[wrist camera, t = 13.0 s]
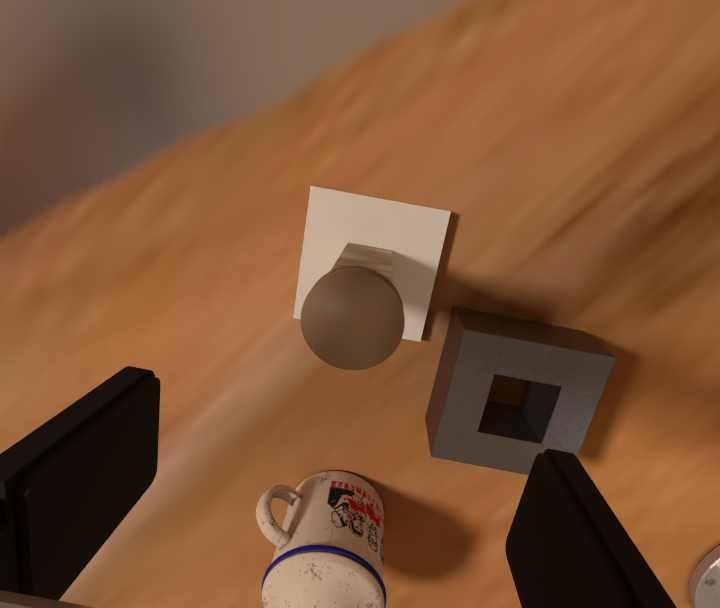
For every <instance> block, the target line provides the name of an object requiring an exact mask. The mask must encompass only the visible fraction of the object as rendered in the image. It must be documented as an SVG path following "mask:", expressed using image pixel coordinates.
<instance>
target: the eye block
mask: <svg viewBox="0 0 720 608" xmlns="http://www.w3.org/2000/svg"><path fill="white" fill-rule="evenodd" d="M615 360H616V357H615V356H613V355H612V354H611V353H609V352H608V351H607V350H606V349H604V348H603V347H602V346H601V345H599V344H598V343H597V342H596V341H594V340H593V339H592V338H591V337H589V336H588V335H587V334H586V333H584V332H583V331H580V330H575V329H570V328H564V327H559V326H553V325H548V324H543V323H537V322H532V321H527V320H521V319H516V318H510V317H505V316H500V315H494V314H489V313H483V312H478V311H473V310H467V309H462V308H456V307H453V311H452V315H451V319H450V323H449V327H448V331H447V335H446V339H445V343H444V347H443V351H442V354H441V358H440V362H439V366H438V370H437V374H436V378H435V382H434V386H433V390H432V394H431V398H430V402H429V406H428V410H427V413H426V417H425V420H426V427H427V433H428V440H429V446H430V453H431V457H436V458H441V459H446V460H452V461H457V462H462V463H468V464H473V465H478V466H483V467H489V468H494V469H499V470H505V471H510V472H515V473H520V474H526V475H529V474H530V471H531V468H532V465H533V463H534V460H535V457H536V455H537V454H538V453H544V451H545V450H546V449H554V450H559V451H564V452H570V453H573V454H574V455H575V456H576V457H577V456H578V454H579V451H580V449H581V446H582V444H583V441H584V438H585V436H586V433H587V431H588V428H589V426H590V423H591V421H592V418H593V416H594V413H595V410H596V408H597V405H598V403H599V400H600V398H601V395H602V393H603V390H604V388H605V385H606V382H607V380H608V377H609V375H610V372H611V370H612V367H613V365H614V362H615ZM495 374H497V375H503V376H508V377H513V378H519V379H524V380H529V382H528V385H527V388H526V391H525V394H524V397H523V400H522V403H521V406H520V407H519V406H513V405H508V404H503V403H497V402H492V401H487V398H488V395H489V391H490V388H491V385H492V381H493V378H494V375H495Z"/></svg>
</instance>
